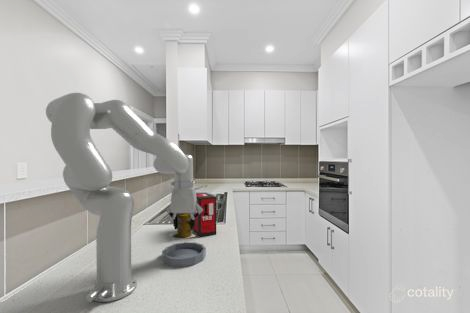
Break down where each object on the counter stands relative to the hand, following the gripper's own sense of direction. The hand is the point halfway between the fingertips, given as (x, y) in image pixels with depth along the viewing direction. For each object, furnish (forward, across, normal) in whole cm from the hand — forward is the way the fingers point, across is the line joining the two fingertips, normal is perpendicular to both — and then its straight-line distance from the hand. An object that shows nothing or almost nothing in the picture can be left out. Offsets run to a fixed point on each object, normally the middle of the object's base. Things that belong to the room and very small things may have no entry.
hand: (184, 228), depth 95 cm
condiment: (+3, -1, 0) cm, 4 cm away
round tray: (+12, 0, 0) cm, 12 cm away
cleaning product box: (+12, 0, +33) cm, 35 cm away
